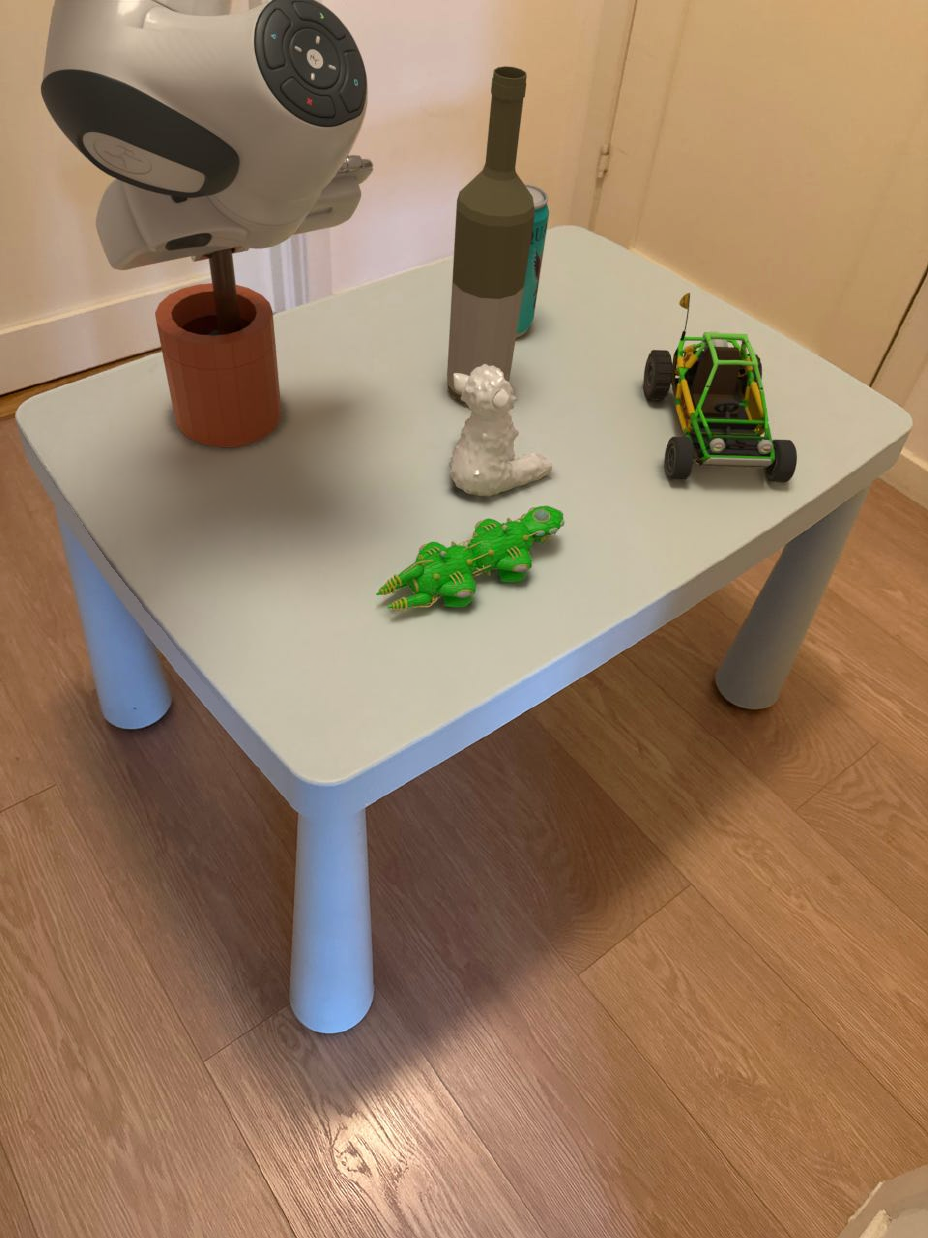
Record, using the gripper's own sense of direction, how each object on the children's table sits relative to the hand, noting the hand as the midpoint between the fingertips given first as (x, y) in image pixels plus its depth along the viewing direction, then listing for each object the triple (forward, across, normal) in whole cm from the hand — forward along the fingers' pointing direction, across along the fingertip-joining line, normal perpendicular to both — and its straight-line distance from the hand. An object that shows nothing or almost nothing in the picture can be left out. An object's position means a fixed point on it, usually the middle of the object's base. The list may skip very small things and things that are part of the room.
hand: (216, 247), depth 78 cm
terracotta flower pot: (+11, +1, +12) cm, 16 cm away
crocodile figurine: (-10, -8, +33) cm, 35 cm away
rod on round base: (+9, 0, +10) cm, 14 cm away
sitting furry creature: (-3, -16, +26) cm, 31 cm away
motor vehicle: (-6, -40, +29) cm, 50 cm away
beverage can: (+12, -32, +11) cm, 36 cm away
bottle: (+6, -23, +18) cm, 29 cm away
